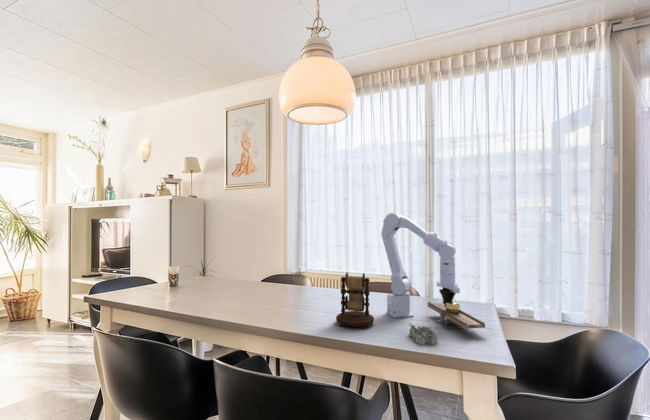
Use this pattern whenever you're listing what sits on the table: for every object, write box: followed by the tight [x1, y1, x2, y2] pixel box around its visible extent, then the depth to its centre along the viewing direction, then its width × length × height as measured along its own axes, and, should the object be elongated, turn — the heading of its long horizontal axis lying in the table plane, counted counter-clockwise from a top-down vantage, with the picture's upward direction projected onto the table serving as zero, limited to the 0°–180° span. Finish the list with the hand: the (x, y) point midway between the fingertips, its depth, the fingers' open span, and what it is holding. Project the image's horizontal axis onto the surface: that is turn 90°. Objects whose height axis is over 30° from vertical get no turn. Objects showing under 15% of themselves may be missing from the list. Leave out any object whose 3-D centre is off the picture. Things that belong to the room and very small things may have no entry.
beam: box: [427, 300, 486, 330], centre depth 126 cm, size 8×28×2 cm, turn 8°
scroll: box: [335, 272, 375, 329], centre depth 127 cm, size 15×15×20 cm
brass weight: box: [446, 301, 461, 314], centre depth 127 cm, size 5×5×4 cm
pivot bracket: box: [434, 313, 463, 330], centre depth 126 cm, size 11×8×4 cm
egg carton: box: [408, 323, 438, 345], centre depth 111 cm, size 11×8×4 cm
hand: (447, 307), depth 130 cm, fingers closed
